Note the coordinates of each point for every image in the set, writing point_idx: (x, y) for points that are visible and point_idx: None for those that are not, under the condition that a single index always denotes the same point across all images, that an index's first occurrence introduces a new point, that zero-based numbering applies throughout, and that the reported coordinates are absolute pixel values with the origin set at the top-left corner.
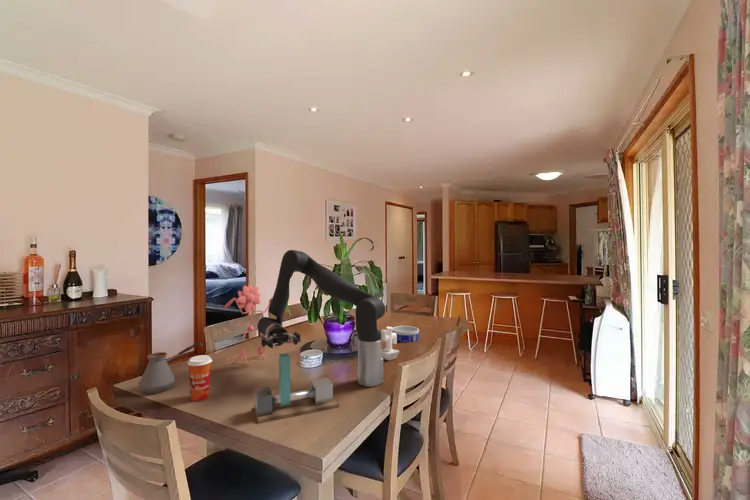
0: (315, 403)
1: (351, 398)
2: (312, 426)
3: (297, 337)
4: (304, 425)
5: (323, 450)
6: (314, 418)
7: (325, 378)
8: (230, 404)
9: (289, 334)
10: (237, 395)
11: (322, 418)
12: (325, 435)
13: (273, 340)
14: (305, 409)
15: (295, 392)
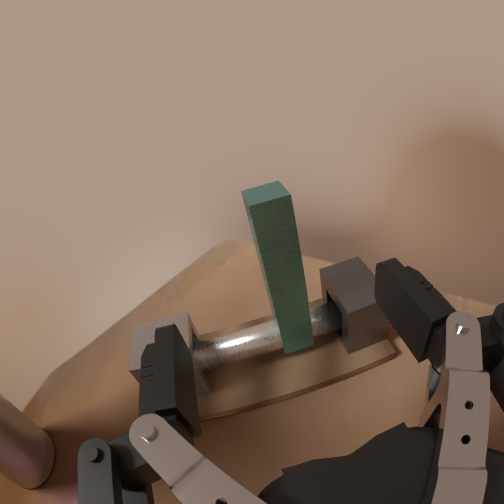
0: None
1: (108, 387)
2: (229, 289)
3: (126, 435)
4: (245, 291)
5: (222, 244)
6: (220, 312)
7: (137, 365)
8: None
9: (203, 469)
10: None
11: (203, 312)
12: (211, 269)
13: (432, 409)
14: (236, 329)
15: (255, 330)
